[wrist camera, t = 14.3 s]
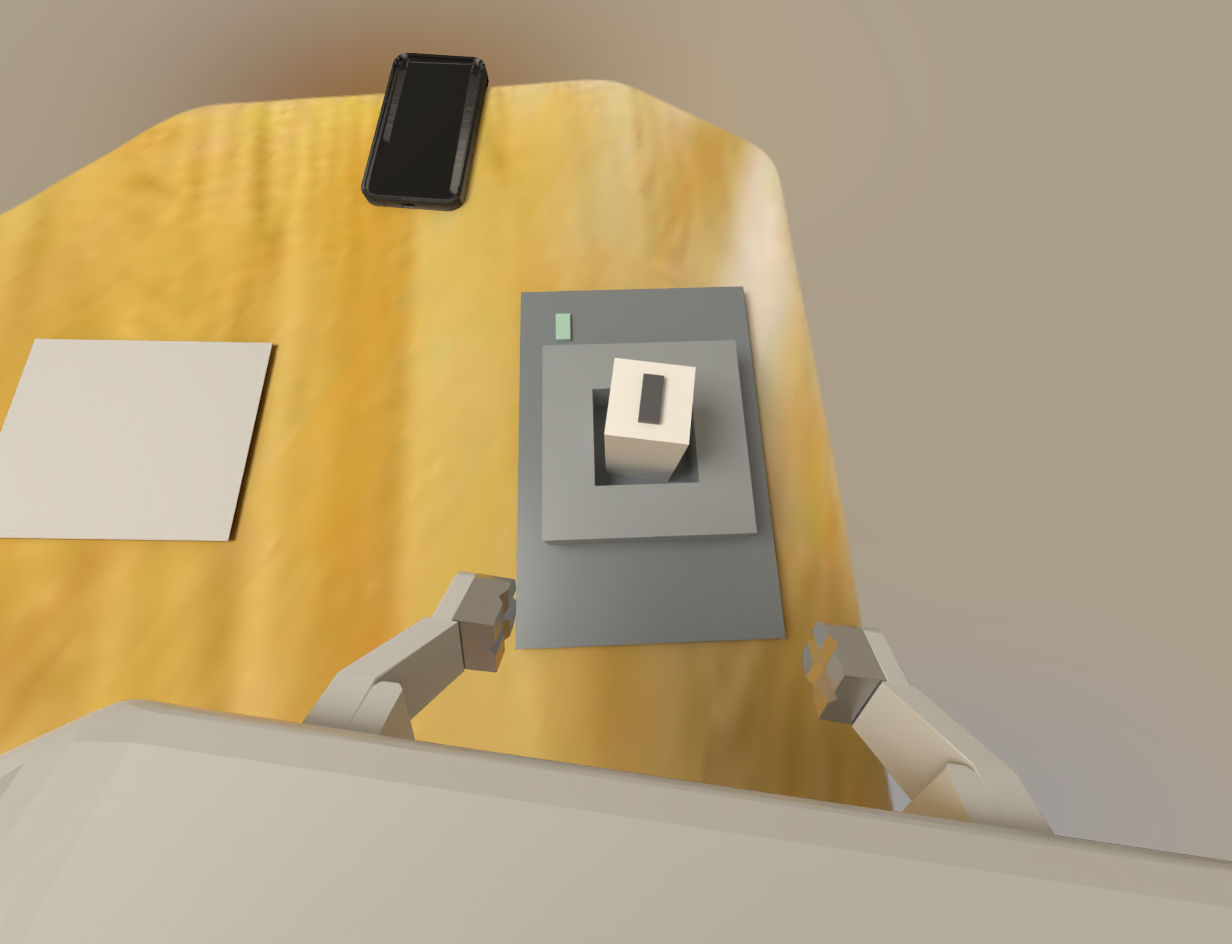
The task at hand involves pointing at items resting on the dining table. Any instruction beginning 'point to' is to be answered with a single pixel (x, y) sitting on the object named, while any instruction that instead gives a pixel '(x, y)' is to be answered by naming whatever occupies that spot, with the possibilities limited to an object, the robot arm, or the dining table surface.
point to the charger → (648, 418)
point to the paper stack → (129, 439)
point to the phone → (426, 132)
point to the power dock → (633, 507)
